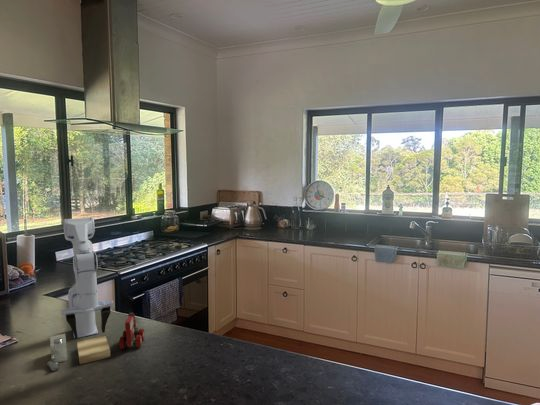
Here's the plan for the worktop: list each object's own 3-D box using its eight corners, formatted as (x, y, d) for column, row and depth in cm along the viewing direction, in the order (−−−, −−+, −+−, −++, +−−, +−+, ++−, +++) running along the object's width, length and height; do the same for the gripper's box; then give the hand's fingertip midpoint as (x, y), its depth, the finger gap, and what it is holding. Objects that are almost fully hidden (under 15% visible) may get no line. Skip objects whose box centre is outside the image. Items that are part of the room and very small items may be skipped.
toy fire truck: (145, 335, 141) (144, 308, 140) (139, 351, 129) (138, 321, 128) (125, 337, 140) (124, 309, 139) (118, 353, 128) (116, 323, 127)
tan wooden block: (77, 348, 131) (76, 341, 131) (105, 342, 136) (105, 335, 136) (79, 364, 121) (79, 356, 121) (110, 356, 125) (110, 349, 125)
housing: (51, 353, 128) (50, 334, 128) (66, 350, 131) (65, 331, 130) (51, 364, 121) (50, 344, 121) (67, 360, 124) (66, 341, 123)
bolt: (45, 367, 119) (45, 360, 119) (54, 364, 121) (53, 357, 121) (51, 372, 116) (51, 365, 116) (60, 369, 118) (59, 361, 118)
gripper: (60, 300, 111) (63, 345, 112) (114, 291, 118) (116, 333, 120) (60, 293, 117) (63, 336, 118) (110, 285, 124) (113, 325, 126)
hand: (89, 334), depth 119 cm, fingers open, 7 cm apart
